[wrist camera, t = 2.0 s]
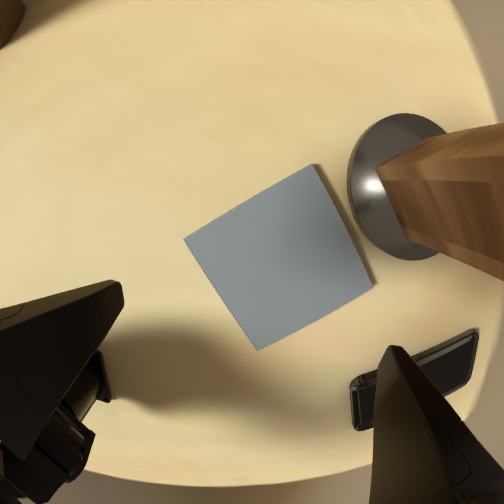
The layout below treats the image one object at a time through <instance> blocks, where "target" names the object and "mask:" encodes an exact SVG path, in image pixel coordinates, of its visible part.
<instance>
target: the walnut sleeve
mask: <svg viewBox="0 0 504 504" xmlns="http://www.w3.org/2000/svg"><path fill="white" fill-rule="evenodd" d="M374 169H375V171H376V173H377V175H378V177H379V179H380V181H381V183H382V185H383V188H384V190H385V192H386V194H387V196H388V198H389V201H390V203H391V205H392V207H393V210H394V212H395V214H396V217H397V219H398V222H399V224H400V227H401V229H402V232H403V234H404V237H405V238H406V239H408V240H411V241H413V242H416V243H418V244H421V245H423V246H426V247H428V248H431V249H433V250H436V251H438V252H440V253H443V254H445V255H447V256H450V257H452V258H454V259H457V260H459V261H461V262H463V263H466V264H468V265H470V266H472V267H475V268H477V269H479V270H481V271H483V272H485V273H488V274H490V275H492V276H494V277H496V278H498V279H500V280H502V281H504V123H500V124H494V125H488V126H483V127H477V128H472V129H467V130H462V131H457V132H452V133H448V134H443V135H439V136H434V137H430V138H427V139H425V140H423V141H421V142H420V143H418V144H416V145H414V146H412V147H410V148H409V149H407V150H405V151H403V152H401V153H399V154H398V155H396V156H394V157H392V158H390V159H389V160H387V161H385V162H383V163H381V164H379V165H378V166H376V167H374Z"/></svg>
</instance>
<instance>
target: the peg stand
mask: <svg viewBox="0 0 504 504" xmlns="http://www.w3.org/2000/svg"><path fill="white" fill-rule="evenodd" d="M443 134H447V133H446V132H445V131H444V130H443V129H442V128H441V127H439V126H438V125H437V124H435V123H434V122H432V121H431V120H429V119H427V118H425V117H422V116H419V115H416V114H409V113H400V114H395V115H391V116H388V117H386V118H384V119H382V120H380V121H378V122H376V123H374V124H373V125H371V126H370V127H369V128H368V129H367V130H366V131H365V132H364V133H363V134H362V135H361V137H360V138H359V140H358V141H357V143H356V145H355V147H354V149H353V151H352V154H351V157H350V160H349V165H348V171H347V192H348V198H349V203H350V206H351V210H352V213H353V215H354V218H355V220H356V222H357V224H358V225H359V227H360V229H361V230H362V232H363V233H364V234H365V236H366V237H367V238H368V239H369V240H370V241H371V242H372V243H373V244H374V245H375V246H377V247H378V248H379V249H381V250H383V251H384V252H386V253H388V254H390V255H392V256H394V257H397V258H400V259H404V260H422V259H426V258H429V257H431V256H434V255H436V254H437V253H439V252H438V251H436V250H433V249H431V248H428V247H426V246H423V245H421V244H418V243H416V242H413V241H411V240H408V239H406V238H405V237H404V234H403V232H402V229H401V227H400V224H399V222H398V219H397V217H396V214H395V212H394V210H393V207H392V205H391V203H390V201H389V198H388V196H387V194H386V192H385V190H384V188H383V185H382V183H381V181H380V179H379V177H378V175H377V173H376V171H375V169H374V167H376V166H378V165H379V164H381V163H383V162H385V161H387V160H389V159H390V158H392V157H394V156H396V155H398V154H399V153H401V152H403V151H405V150H407V149H409V148H410V147H412V146H414V145H416V144H418V143H420V142H421V141H423V140H425V139H427V138H430V137H434V136H439V135H443Z"/></svg>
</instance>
